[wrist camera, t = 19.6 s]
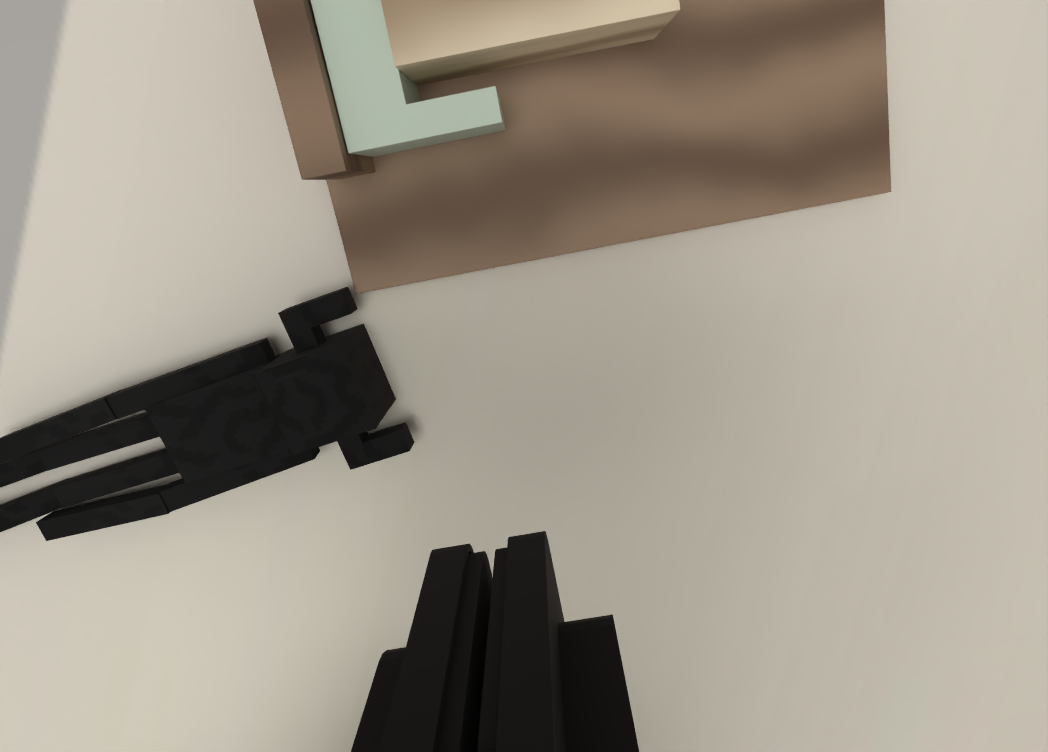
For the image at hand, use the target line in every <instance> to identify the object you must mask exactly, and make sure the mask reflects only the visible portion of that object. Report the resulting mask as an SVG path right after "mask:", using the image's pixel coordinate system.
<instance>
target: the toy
mask: <svg viewBox="0 0 1048 752" xmlns="http://www.w3.org/2000/svg"><path fill="white" fill-rule="evenodd" d="M355 310H357V306H356V304H355V302H354V299H353V297H352V295H351V292H350V290H349V288H348V287H345V288H343V289H340V290H337V291H334V292H331V293H329V294H326V295H323V296H320V297H317V298H315V299H312V300H309V301H306V302H303V303H301V304H298V305H295V306H292V307H289V308H287V309H285V310H283V311H281V312H279V313H278V314H279V316H280V318H281V320H282V322H283V324H284V327H285V329H286V331H287V333H288V335H289V337H290V340H291V342H292V344H293V346H294V348H293V349H290V350H287V351H286V352H284V353H283V354H281V355H277V356H275V354H274V352H273V350H272V348H271V346H270V344H269V341H268V339H267V338H265V339H262V340H259V341H256V342H254V343H251V344H248V345H245V346H243V347H240V348H237V349H234V350H231V351H229V352H226V353H223V354H220V355H218V356H215V357H212V358H209V359H206V360H204V361H201V362H198V363H195V364H192V365H190V366H187V367H184V368H181V369H179V370H176V371H173V372H170V373H167V374H165V375H162V376H159V377H156V378H154V379H151V380H148V381H145V382H142V383H140V384H137V385H134V386H131V387H129V388H126V389H123V390H120V391H117V392H115V393H112V394H110V395H107V396H104V397H102V398H99V399H97V400H94V401H92V402H89V403H87V404H84V405H82V406H79V407H77V408H74V409H72V410H69V411H67V412H64V413H61V414H59V415H56V416H54V417H51V418H49V419H46V420H44V421H41V422H39V423H36V424H34V425H31V426H29V427H26V428H23V429H21V430H18V431H16V432H13V433H11V434H8V435H6V436H3V437H1V438H0V487H3V486H6V485H9V484H11V483H14V482H17V481H20V480H22V479H25V478H28V477H31V476H33V475H36V474H39V473H42V472H44V471H47V470H51V469H55V468H58V467H61V466H64V465H68V464H71V463H74V462H78V461H81V460H84V459H87V458H91V457H94V456H97V455H100V454H104V453H107V452H110V451H114V450H117V449H120V448H123V447H127V446H130V445H133V444H137V443H140V442H143V441H146V440H150V439H153V438H156V437H160V438H161V439H162V441H163V443H164V445H165V447H166V449H163V450H160V451H157V452H153V453H150V454H147V455H144V456H141V457H137V458H134V459H131V460H128V461H125V462H121V463H118V464H115V465H112V466H109V467H105V468H102V469H99V470H96V471H93V472H89V473H86V474H83V475H80V476H77V477H73V478H70V479H69V478H68V479H66V480H63V481H61V482H58V483H55V484H53V485H50V486H48V487H45V488H43V489H40V490H37V491H35V492H32V493H30V494H27V495H25V496H22V497H20V498H17V499H14V500H12V501H9V502H7V503H4V504H2V505H0V532H2V531H4V530H7V529H10V528H12V527H15V526H17V525H20V524H22V523H25V522H27V521H30V520H32V519H35V518H37V517H40V516H42V515H45V514H47V513H50V512H52V511H53V512H52V513H50V514H49V515H47V516H45V517H44V518H42V519H41V520H39V521H37V522H36V523H37V525H38V527H39V529H40V530H41V532H42V534H43V536H44V537H45V539H46V541H48V540H53V539H57V538H62V537H66V536H71V535H75V534H80V533H84V532H89V531H93V530H98V529H102V528H107V527H111V526H116V525H120V524H125V523H129V522H133V521H138V520H142V519H147V518H151V517H156V516H160V515H165V514H169V513H170V512H171V511H174V510H177V509H179V508H182V507H185V506H188V505H190V504H193V503H196V502H198V501H201V500H204V499H207V498H209V497H212V496H215V495H218V494H220V493H223V492H226V491H229V490H231V489H234V488H237V487H239V486H242V485H245V484H248V483H250V482H253V481H256V480H259V479H261V478H264V477H267V476H270V475H272V474H275V473H278V472H280V471H283V470H286V469H289V468H291V467H294V466H297V465H300V464H302V463H305V462H308V461H311V460H313V459H315V457H316V456H317V455H318V453H319V452H320V450H319V447H320V446H323V445H326V444H329V443H332V442H336V441H337V442H338V444H339V446H340V448H341V450H342V452H343V455H344V457H345V459H346V461H347V463H348V465H349V468H350V470H351V469H354V468H358V467H361V466H364V465H367V464H370V463H373V462H377V461H380V460H383V459H386V458H389V457H392V456H396V455H399V454H402V453H405V452H408V451H410V449H411V448H412V446H413V444H414V440H413V438H412V435H411V433H410V431H409V428H408V426H407V424H406V422H405V423H401V424H398V425H395V426H392V427H389V428H386V429H383V430H380V431H377V432H374V433H370V434H368V432H367V431H370V430H373V429H376V427H377V426H378V424H379V423H380V421H381V420H382V419H383V417H384V416H385V414H386V413H387V411H388V410H389V408H390V407H391V405H392V404H393V402H394V401H395V400H396V398H395V396H394V394H393V391H392V389H391V387H390V384H389V382H388V380H387V377H386V375H385V372H384V370H383V368H382V365H381V363H380V361H379V358H378V356H377V354H376V351H375V349H374V347H373V344H372V342H371V340H370V337H369V335H368V332H367V330H366V328H365V325H364V324H361V325H358V326H355V327H353V328H350V329H347V330H344V331H341V332H338V333H336V334H333V335H330V336H327V337H325V336H324V334H323V331H322V329H321V327H320V324H323V323H326V322H329V321H332V320H335V319H338V318H340V317H343V316H346V315H349V314H351V313H353V312H354V311H355ZM142 410H146V412H147V413H144V414H141V415H138V416H135V417H132V418H129V419H126V420H122V421H119V422H116V423H113V424H110V425H107V426H104V427H100V428H97V429H94V430H91V431H88V432H85V433H82V432H84V431H87V430H90V429H92V428H95V427H97V426H100V425H103V424H105V423H108V422H111V421H113V420H116V419H120V418H122V417H125V416H128V415H131V414H133V413H136V412H139V411H142ZM79 433H82V434H79ZM76 434H78V435H76ZM74 435H75V436H74ZM71 436H72V437H71ZM177 473H180V475H181V476H182V479H180V480H177V481H174V482H171V483H169V484H167V485H163V486H159V487H155V488H150V489H146V490H142V491H138V492H133V493H129V494H125V495H121V496H117V497H112V498H108V499H104V500H100V501H95V502H91V503H87V504H83V505H78V506H74V507H70V508H66V509H61V510H58V509H60V508H64V507H67V506H71V505H74V504H77V503H81V502H84V501H87V500H91V499H94V498H97V497H101V496H104V495H107V494H111V493H114V492H117V491H120V490H124V489H127V488H130V487H134V486H137V485H140V484H144V483H147V482H150V481H154V480H157V479H160V478H163V477H167V476H170V475H173V474H177ZM55 510H57V511H55Z"/></svg>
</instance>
